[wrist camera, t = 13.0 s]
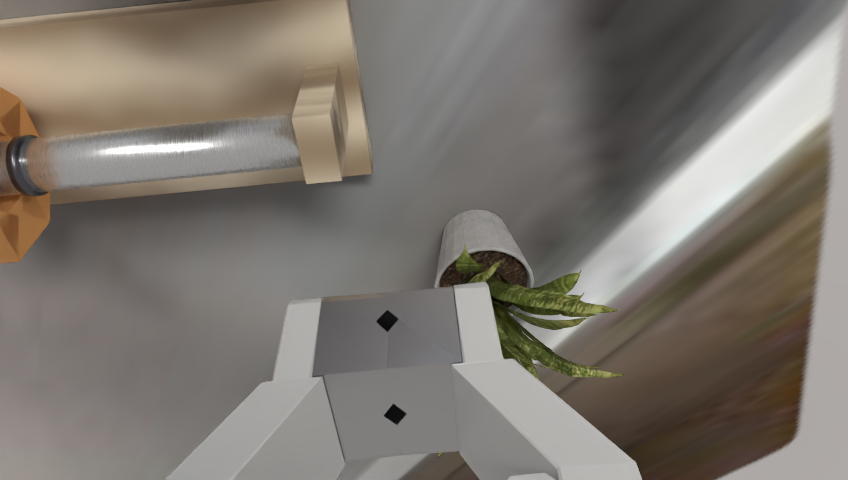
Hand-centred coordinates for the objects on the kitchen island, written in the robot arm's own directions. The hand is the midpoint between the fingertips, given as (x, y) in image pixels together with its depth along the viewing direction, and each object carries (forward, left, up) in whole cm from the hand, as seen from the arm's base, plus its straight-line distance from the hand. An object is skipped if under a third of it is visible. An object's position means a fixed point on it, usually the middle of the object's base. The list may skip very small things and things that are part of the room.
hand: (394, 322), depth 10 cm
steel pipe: (+9, -17, -27) cm, 33 cm away
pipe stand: (+9, -17, -33) cm, 38 cm away
